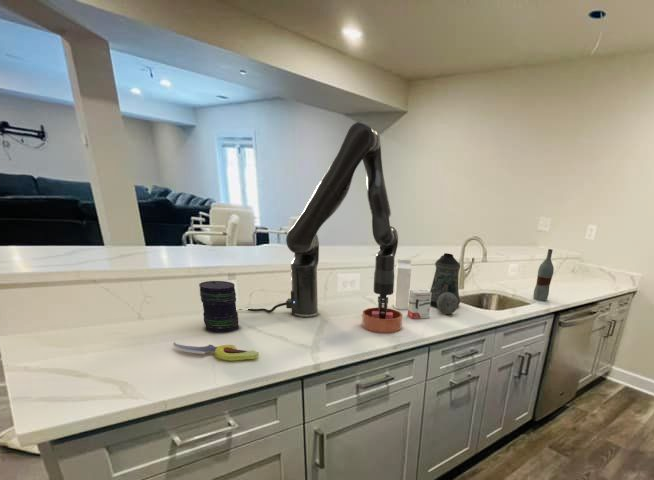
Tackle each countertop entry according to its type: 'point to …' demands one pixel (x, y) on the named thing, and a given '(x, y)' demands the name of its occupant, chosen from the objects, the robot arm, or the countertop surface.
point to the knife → (220, 351)
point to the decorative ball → (447, 303)
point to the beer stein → (445, 278)
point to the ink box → (419, 303)
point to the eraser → (376, 313)
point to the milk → (402, 284)
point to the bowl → (381, 321)
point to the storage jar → (219, 306)
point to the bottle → (544, 278)
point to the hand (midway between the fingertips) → (381, 323)
